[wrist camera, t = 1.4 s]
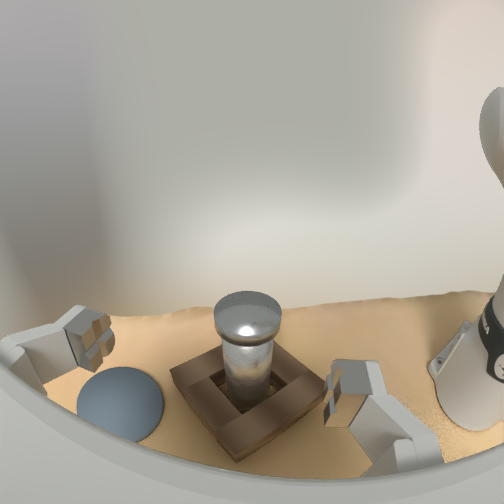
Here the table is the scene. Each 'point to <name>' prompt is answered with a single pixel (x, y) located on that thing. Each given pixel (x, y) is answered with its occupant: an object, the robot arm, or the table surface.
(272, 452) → the table surface
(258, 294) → the steel plug
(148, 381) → the slate rubber mat
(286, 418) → the walnut socket block
